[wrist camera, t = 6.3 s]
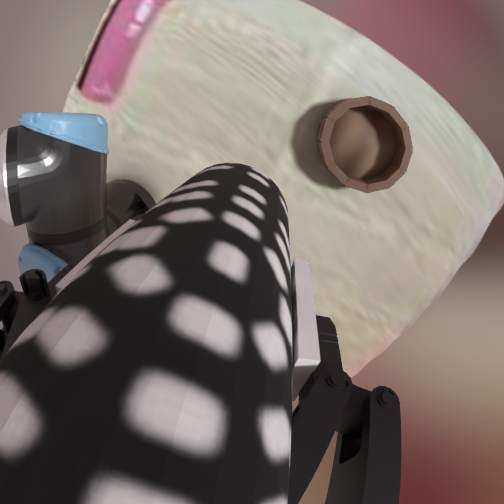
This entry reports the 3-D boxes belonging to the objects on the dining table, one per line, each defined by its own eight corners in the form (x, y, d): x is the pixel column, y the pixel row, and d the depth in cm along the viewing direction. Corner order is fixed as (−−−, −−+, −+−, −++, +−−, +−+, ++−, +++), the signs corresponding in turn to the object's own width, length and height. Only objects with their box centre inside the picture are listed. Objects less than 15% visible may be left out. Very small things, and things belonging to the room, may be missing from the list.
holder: (307, 169, 39) (310, 175, 35) (329, 87, 33) (335, 83, 29) (385, 194, 39) (395, 203, 36) (408, 118, 33) (421, 119, 29)
